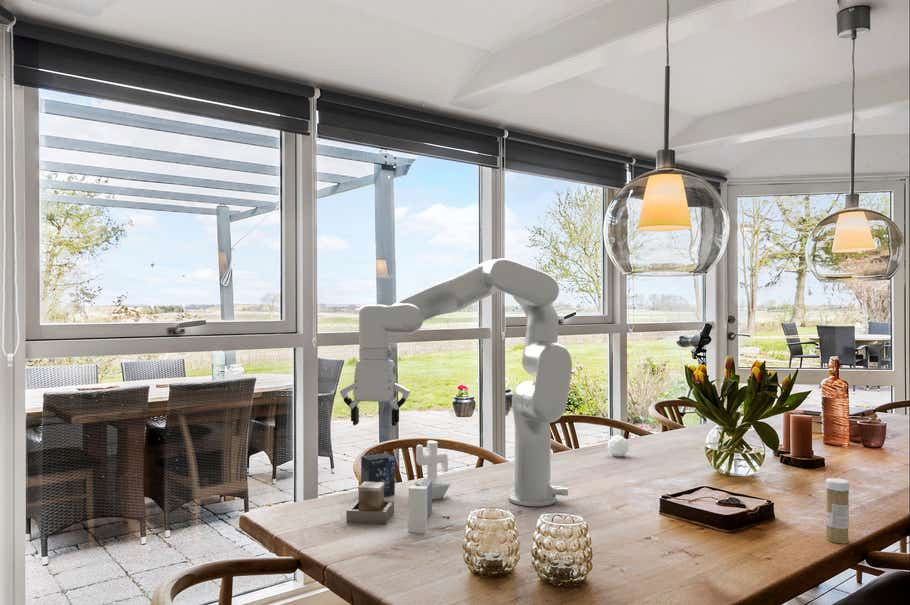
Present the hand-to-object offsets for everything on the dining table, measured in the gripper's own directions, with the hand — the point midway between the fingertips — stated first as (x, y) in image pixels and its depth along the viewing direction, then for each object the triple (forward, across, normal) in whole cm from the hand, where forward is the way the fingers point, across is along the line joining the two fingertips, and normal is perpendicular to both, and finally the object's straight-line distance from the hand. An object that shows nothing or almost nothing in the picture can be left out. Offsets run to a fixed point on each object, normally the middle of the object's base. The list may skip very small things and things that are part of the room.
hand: (375, 424), depth 166 cm
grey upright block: (+23, -12, +1) cm, 26 cm away
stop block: (+22, +1, +1) cm, 23 cm away
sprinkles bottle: (+24, -105, +4) cm, 108 cm away
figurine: (+23, -11, -19) cm, 32 cm away
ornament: (+24, -68, -75) cm, 104 cm away
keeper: (+22, +1, +1) cm, 23 cm away
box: (+23, +4, -19) cm, 30 cm away
